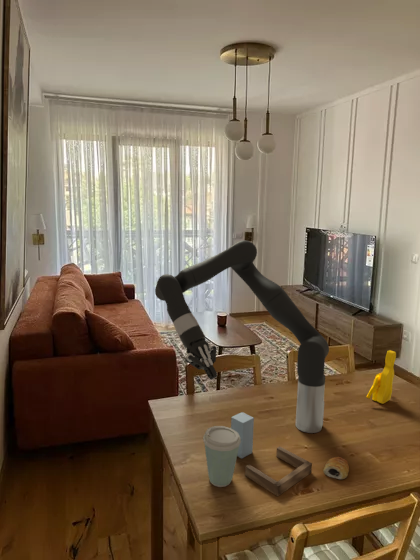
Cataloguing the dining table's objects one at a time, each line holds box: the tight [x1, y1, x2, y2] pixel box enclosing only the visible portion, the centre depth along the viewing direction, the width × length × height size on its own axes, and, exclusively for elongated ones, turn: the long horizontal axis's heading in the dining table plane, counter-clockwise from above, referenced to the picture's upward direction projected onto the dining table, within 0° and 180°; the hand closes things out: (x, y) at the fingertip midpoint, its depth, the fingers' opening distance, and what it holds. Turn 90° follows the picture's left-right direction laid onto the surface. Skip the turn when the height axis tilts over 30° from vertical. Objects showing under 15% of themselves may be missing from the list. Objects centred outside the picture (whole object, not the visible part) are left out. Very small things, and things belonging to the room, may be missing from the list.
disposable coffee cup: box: [202, 425, 241, 488], centre depth 120 cm, size 11×11×15 cm
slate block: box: [230, 411, 255, 459], centre depth 135 cm, size 5×5×12 cm
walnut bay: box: [244, 445, 313, 497], centre depth 125 cm, size 16×12×3 cm
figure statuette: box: [365, 349, 397, 405], centre depth 173 cm, size 18×8×22 cm, turn 131°
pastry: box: [323, 456, 350, 480], centre depth 128 cm, size 9×7×4 cm
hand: (214, 378), depth 134 cm, fingers closed
